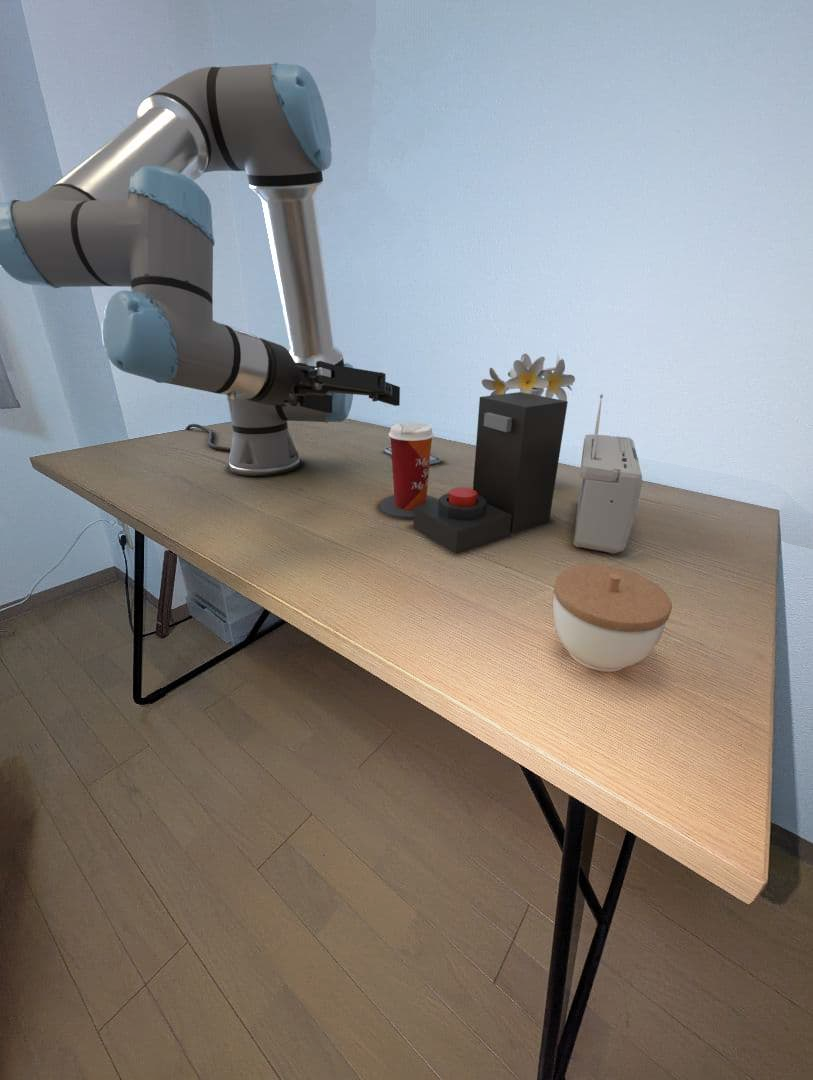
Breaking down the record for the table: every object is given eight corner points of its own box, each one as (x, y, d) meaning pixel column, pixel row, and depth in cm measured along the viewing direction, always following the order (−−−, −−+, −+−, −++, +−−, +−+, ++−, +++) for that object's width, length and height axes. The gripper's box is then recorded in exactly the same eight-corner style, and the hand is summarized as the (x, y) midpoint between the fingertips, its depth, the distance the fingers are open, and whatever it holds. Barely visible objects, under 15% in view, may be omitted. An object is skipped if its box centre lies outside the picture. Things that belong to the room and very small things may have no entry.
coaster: (369, 503, 87) (369, 500, 87) (418, 492, 92) (418, 489, 92) (401, 524, 79) (402, 521, 78) (453, 510, 84) (453, 507, 84)
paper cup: (428, 514, 81) (430, 433, 75) (384, 510, 83) (383, 431, 76) (434, 498, 88) (437, 423, 82) (394, 495, 89) (394, 420, 83)
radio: (625, 559, 68) (659, 421, 59) (566, 550, 71) (590, 416, 62) (620, 508, 86) (645, 395, 77) (573, 502, 88) (592, 392, 79)
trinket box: (539, 672, 47) (553, 593, 43) (550, 613, 56) (562, 543, 52) (657, 701, 44) (684, 618, 40) (648, 634, 53) (670, 561, 49)
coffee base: (413, 527, 78) (414, 496, 75) (464, 513, 83) (466, 483, 81) (455, 553, 70) (457, 519, 67) (509, 536, 75) (513, 504, 73)
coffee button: (442, 501, 75) (443, 490, 74) (464, 495, 77) (464, 485, 76) (460, 510, 71) (461, 499, 71) (482, 504, 74) (483, 493, 73)
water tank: (466, 514, 83) (474, 397, 74) (507, 502, 88) (519, 391, 79) (507, 534, 75) (521, 407, 67) (549, 521, 80) (568, 401, 72)
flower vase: (465, 484, 97) (474, 354, 85) (524, 468, 107) (538, 349, 96) (514, 503, 87) (531, 360, 76) (573, 483, 98) (596, 354, 86)
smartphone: (415, 464, 106) (382, 448, 117) (415, 468, 106) (383, 451, 118) (442, 459, 110) (407, 444, 121) (442, 462, 110) (407, 447, 121)
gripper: (192, 409, 64) (306, 429, 82) (327, 389, 50) (429, 419, 68) (191, 352, 63) (306, 385, 81) (327, 316, 50) (430, 365, 67)
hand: (362, 400), depth 75 cm, fingers open, 13 cm apart
